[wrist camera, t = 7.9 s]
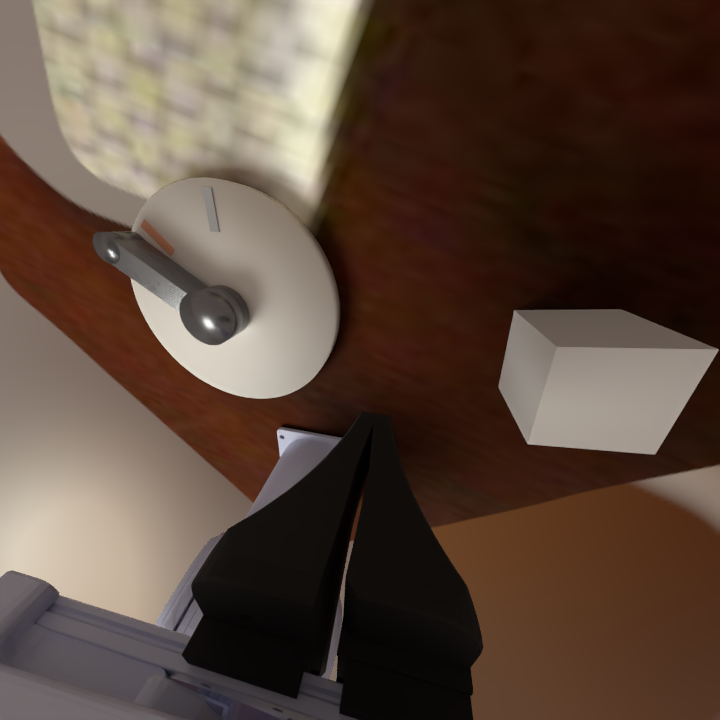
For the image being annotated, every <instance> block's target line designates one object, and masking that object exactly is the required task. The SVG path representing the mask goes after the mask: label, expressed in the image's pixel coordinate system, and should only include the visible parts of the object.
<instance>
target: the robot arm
mask: <svg viewBox="0 0 720 720" xmlns="http://www.w3.org/2000/svg"><path fill="white" fill-rule="evenodd" d="M282 435H283V436H282ZM277 436H278V444H279V452H280V459H279V461H278V462H277V464H276V466H275V468H274V469H273V471H272V473H271V475H270V476H269V478H268V480H267V481H266V483H265V485H264V487H263V488H262V490H261V492H260V494H259V495H258V497H257V499H256V500H255V502H254V504H253V506H252V507H251V509H250V511H249V513H248V514H247V516H246V518H245V519H244V520H242V521H241V522H239V523H237V524H235V525H234V526H232V527H230V528H229V529H228V530H227V531H226V532H225V533H221V534H220V535H219V536H216V537H214V538H212V539H210V540H209V541H208V542H207V544H206V545H205V546H204V547H203V549H202V550H201V552H200V553H199V554H198V556H197V557H196V559H195V560H194V561H193V563H192V564H191V566H190V567H189V569H188V570H187V572H186V573H185V575H184V577H183V578H182V580H181V581H180V583H179V584H178V586H177V588H176V589H175V591H174V592H173V594H172V596H171V597H170V599H169V600H168V603H167V604H166V605H165V607H164V609H163V611H162V612H161V614H160V616H159V617H158V619H157V621H156V623H155V625H153V624H150V623H146V622H143V621H140V620H137V619H134V618H130V617H127V616H124V615H120V614H117V613H114V612H111V611H108V610H105V609H101V608H98V607H95V606H92V605H89V604H86V603H82V602H79V601H76V600H73V599H70V598H66V597H63V596H60V595H59V592H58V591H57V590H56V589H55V588H54V587H53V586H52V585H50V584H49V583H47V582H46V581H43V580H41V579H38V578H35V577H32V576H29V575H25V574H22V573H19V572H16V571H9V572H6V573H5V574H4V575H3V576H2V577H1V578H0V720H473V715H472V707H471V698H470V695H472V694H473V685H472V677H471V669H470V668H471V666H472V665H473V664H474V662H475V661H476V660H477V658H478V657H479V656H480V654H481V652H482V649H483V643H482V636H481V631H480V627H479V623H478V619H477V615H476V612H475V608H474V605H473V602H472V599H471V596H470V593H469V590H468V588H467V585H466V584H465V582H464V581H463V579H462V578H461V576H460V575H459V573H458V572H457V571H456V569H455V567H454V566H453V565H452V563H451V561H450V560H449V558H448V557H447V555H446V554H445V552H444V550H443V549H442V547H441V545H440V544H439V542H438V540H437V539H436V537H435V535H434V533H433V532H432V530H431V528H430V526H429V524H428V522H427V521H426V519H425V517H424V515H423V513H422V511H421V509H420V507H419V505H418V503H417V501H416V499H415V497H414V495H413V492H412V490H411V488H410V486H409V483H408V481H407V478H406V476H405V473H404V470H403V467H402V464H401V461H400V458H399V455H398V451H397V448H396V444H395V440H394V435H393V429H392V418H391V417H390V416H387V415H381V414H375V413H369V412H363V411H362V412H360V413H359V415H358V417H357V418H356V420H355V422H354V423H353V424H352V426H351V427H350V429H349V430H348V431H347V433H346V434H345V435H344V436H343V438H340V437H335V436H329V435H324V434H318V433H313V432H307V431H301V430H296V429H290V428H285V427H280V428H279V429H278V430H277ZM367 473H368V478H367V483H366V488H365V493H364V498H363V502H362V507H361V512H360V516H359V521H358V525H357V530H356V535H355V539H354V543H353V548H352V552H351V556H350V561H349V565H348V569H347V574H346V582H345V598H344V616H343V622H342V604H341V600H340V590H341V584H342V579H343V574H344V568H345V563H346V557H347V552H348V547H349V542H350V537H351V532H352V527H353V523H354V519H355V515H356V512H357V508H358V505H359V501H360V498H361V494H362V491H363V487H364V483H365V480H366V476H367ZM341 625H342V627H341ZM336 653H337V656H338V663H337V679H336V682H335V681H332V680H329V678H330V675H331V672H332V669H333V665H334V661H335V657H336Z"/></svg>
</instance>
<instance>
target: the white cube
mask: <svg viewBox="0 0 720 720" xmlns="http://www.w3.org/2000/svg"><path fill="white" fill-rule="evenodd" d="M718 350H719V349H717V348H714V347H712V346H709V345H707V344H704V343H702V342H699V341H697V340H695V339H692V338H690V337H687V336H685V335H682V334H680V333H678V332H675V331H673V330H670V329H668V328H665V327H663V326H661V325H658V324H656V323H653V322H651V321H648V320H646V319H644V318H641V317H639V316H636V315H634V314H631V313H629V312H627V311H624V310H622V309H595V310H514V314H513V319H512V324H511V328H510V333H509V338H508V343H507V348H506V353H505V358H504V362H503V367H502V372H501V377H500V382H499V389H500V391H501V393H502V395H503V397H504V399H505V401H506V403H507V405H508V407H509V409H510V411H511V413H512V415H513V417H514V419H515V421H516V423H517V425H518V426H519V428H520V430H521V432H522V434H523V436H524V438H525V440H526V442H527V444H532V445H544V446H556V447H569V448H581V449H593V450H605V451H618V452H630V453H642V454H656V452H657V451H658V449H659V447H660V446H661V444H662V442H663V441H664V439H665V437H666V436H667V434H668V433H669V431H670V429H671V428H672V426H673V424H674V423H675V421H676V419H677V418H678V416H679V414H680V413H681V411H682V410H683V408H684V406H685V405H686V403H687V401H688V400H689V398H690V396H691V395H692V393H693V391H694V390H695V388H696V387H697V385H698V383H699V382H700V380H701V378H702V377H703V375H704V373H705V372H706V370H707V369H708V367H709V365H710V364H711V362H712V360H713V359H714V357H715V355H716V354H717V352H718Z"/></svg>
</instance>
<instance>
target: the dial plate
mask: <svg viewBox="0 0 720 720" xmlns="http://www.w3.org/2000/svg"><path fill="white" fill-rule="evenodd" d="M132 231H133V232H136V233H138V234H139V235H141V236H142V237H143V238H144V240H146V241H147V242H148V243H150V244H151V245H152V246H154V247H155V248H156V249H158V250H159V251H160V252H162V253H163V254H165V255H166V256H167V257H169V258H170V259H171V260H173V261H174V262H175V263H177V264H178V265H180V266H181V267H182V268H184V269H185V270H186V271H188V272H189V273H190V274H192V275H193V276H194V277H196V278H197V279H199V280H200V281H201V282H203V283H204V284H205V285H207V286H208V287H211V286H214V285H224V286H228V287H230V288H232V289H234V290H235V291H236V292H238V293H239V294H240V295H241V296H242V298H243V299H244V301H245V302H246V304H247V306H248V309H249V315H250V318H249V323H248V326H247V327H246V328H245V329H244V330H243V331H242V332H240V333H239V334H237V335H235V336H234V337H232V338H230V339H229V340H227V341H226V342H224V343H222V344H220V345H208V344H205V343H202V342H200V341H199V340H197V339H196V338H194V337H193V336H192V335H191V334H190V333H189V332H188V331H187V329H186V328H185V326H184V324H183V323H182V320H181V317H180V313H179V311H177V310H176V309H174V308H173V307H171V306H170V305H169V304H167V303H166V302H164V301H163V300H162V299H160V298H159V297H157V296H156V295H154V294H153V293H152V292H150V291H149V290H147V289H146V288H145V287H143V286H142V285H140V284H139V283H137V282H136V281H135V280H133V279H132V278H131V282H132V286H133V290H134V293H135V297H136V299H137V302H138V304H139V307H140V309H141V312H142V313H143V315H144V317H145V319H146V321H147V323H148V325H149V326H150V328H151V330H152V331H153V333H154V334H155V336H156V337H157V338H158V340H159V341H160V342H161V344H162V345H163V346H164V347H165V349H166V350H167V351H168V352H169V353H170V354H171V355H172V356H173V357H174V358H175V359H176V360H177V361H178V362H179V363H180V364H181V365H182V366H183V367H185V368H186V369H187V370H188V371H190V372H191V373H192V374H194V375H195V376H197V377H198V378H199V379H201V380H202V381H204V382H206V383H208V384H210V385H211V386H213V387H216V388H218V389H220V390H222V391H225V392H228V393H231V394H234V395H238V396H242V397H248V398H274V397H280V396H283V395H287V394H290V393H292V392H294V391H296V390H298V389H300V388H301V387H303V386H304V385H306V384H307V383H308V382H309V381H311V380H312V379H313V378H314V377H315V376H316V374H317V373H318V372H319V371H320V369H321V368H322V367H323V365H324V363H325V362H326V360H327V359H328V357H329V355H330V353H331V352H332V350H333V347H334V345H335V342H336V339H337V335H338V331H339V324H340V299H339V294H338V288H337V284H336V280H335V277H334V274H333V271H332V268H331V266H330V264H329V261H328V259H327V257H326V255H325V253H324V251H323V250H322V248H321V246H320V244H319V243H318V241H317V240H316V238H315V237H314V236H313V234H312V233H311V232H310V230H309V229H308V228H307V227H306V225H305V224H304V223H303V222H302V221H301V220H300V219H299V218H298V217H297V216H296V215H295V214H294V213H293V212H291V211H290V210H289V209H288V208H287V207H285V206H284V205H283V204H282V203H280V202H279V201H277V200H275V199H274V198H272V197H271V196H269V195H268V194H266V193H263V192H261V191H259V190H257V189H255V188H253V187H249V186H246V185H242V184H239V183H235V182H231V181H227V180H223V179H215V178H207V177H201V178H188V179H184V180H180V181H176V182H174V183H171V184H169V185H167V186H165V187H163V188H162V189H160V190H159V191H158V192H156V193H155V194H154V195H152V196H151V198H150V199H149V200H148V201H147V202H146V203H145V204H144V205H143V207H142V209H141V211H140V212H139V214H138V216H137V217H136V220H135V223H134V225H133V228H132Z"/></svg>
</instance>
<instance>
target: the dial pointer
mask: <svg viewBox="0 0 720 720" xmlns="http://www.w3.org/2000/svg"><path fill="white" fill-rule="evenodd" d="M93 245H94V248H95V250H96V252H97V254H98V255H99V256H100V257H101V258H102V259H103V260H104V261H106V262H108V263H110V264H112V265H113V266H115V267H116V268H118V269H119V270H120V271H122V272H123V273H125V274H126V275H128V276H129V277H130V278H132V279H133V280H135V281H136V282H137V283H139V284H140V285H142V286H143V287H145V288H146V289H147V290H149V291H150V292H152V293H153V294H154V295H156V296H157V297H159V298H160V299H162V300H163V301H164V302H166V303H167V304H169V305H170V306H171V307H173V308H174V309H176V310H177V311H179V313H180V317H181V320H182V323H183V324H184V326H185V328H186V329H187V331H188V332H189V333H190V334H191V335H192V336H193V337H194V338H196V339H197V340H199V341H200V342H202V343H205V344H208V345H220V344H222V343H224V342H226V341H227V340H229V339H230V338H232V337H234V336H235V335H237V334H239V333H240V332H242V331H243V330H244V329H245V328H246V327H247V326H248V323H249V318H250V315H249V309H248V306H247V304H246V302H245V301H244V299H243V298H242V296H241V295H240V294H239V293H238V292H236V291H235V290H234V289H232V288H230V287H228V286H224V285H214V286H211V287H208V286H207V285H205V284H204V283H203V282H201V281H200V280H199V279H197V278H196V277H194V276H193V275H192V274H190V273H189V272H188V271H186V270H185V269H184V268H182V267H181V266H180V265H178V264H177V263H175V262H174V261H173V260H171V259H170V258H169V257H167V256H166V255H165V254H163V253H162V252H160V251H159V250H158V249H156V248H155V247H154V246H152V245H151V244H150V243H148V242H147V241H146V240H144V238H143V237H142V236H141V235H139V234H138V233H136V232H133V231H127V232H97V233H95V234H94V236H93Z"/></svg>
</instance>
